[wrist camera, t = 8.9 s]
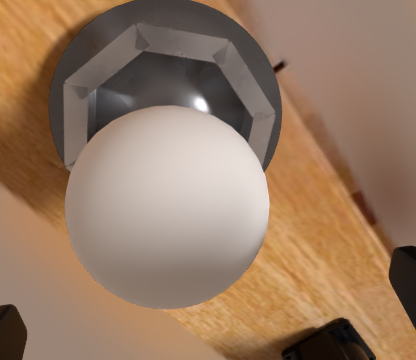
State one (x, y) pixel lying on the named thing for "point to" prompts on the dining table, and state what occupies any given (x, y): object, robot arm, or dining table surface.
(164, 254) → the lightbulb
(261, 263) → the dining table surface
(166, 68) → the socket base
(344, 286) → the dining table surface
